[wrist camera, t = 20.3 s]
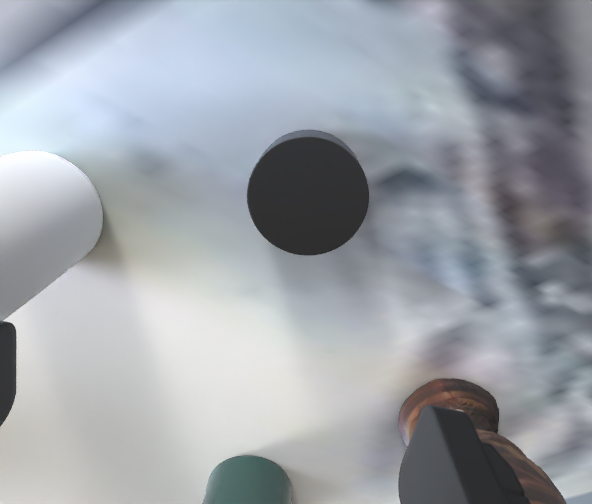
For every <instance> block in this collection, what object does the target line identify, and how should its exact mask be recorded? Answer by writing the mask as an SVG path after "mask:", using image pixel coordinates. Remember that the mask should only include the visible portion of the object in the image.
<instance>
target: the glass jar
mask: <svg viewBox="0 0 592 504" xmlns="http://www.w3.org/2000/svg"><path fill="white" fill-rule="evenodd" d="M202 504H292V485H291V482H290V479H289V477H288V475H287V474H286V473H285V471H284V470H283V469H282V468H281V467H280V466H278V465H277V464H275V463H274V462H272V461H270V460H268V459H265V458H262V457H257V456H237V457H233V458H230V459H227V460H225V461H223V462H222V463H220V464H219V465H218V466H217V467H216V468H215V469H214V470H213V471H212V473H211V475H210V477H209V480H208V484H207V488H206V492H205V495H204V499H203V503H202Z"/></svg>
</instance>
